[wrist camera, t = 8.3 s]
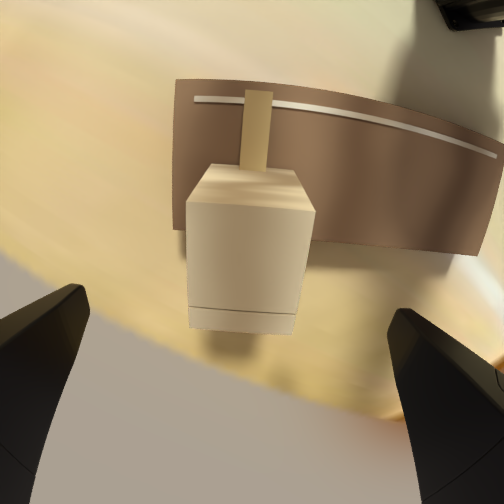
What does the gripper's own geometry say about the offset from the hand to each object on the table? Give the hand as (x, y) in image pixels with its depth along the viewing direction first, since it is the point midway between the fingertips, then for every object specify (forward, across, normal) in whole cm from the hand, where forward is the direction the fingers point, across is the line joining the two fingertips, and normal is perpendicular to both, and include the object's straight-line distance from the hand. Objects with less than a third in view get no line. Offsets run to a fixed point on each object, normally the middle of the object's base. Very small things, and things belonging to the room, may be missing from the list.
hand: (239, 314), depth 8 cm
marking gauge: (+11, 0, -1) cm, 11 cm away
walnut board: (+11, -6, -2) cm, 13 cm away
